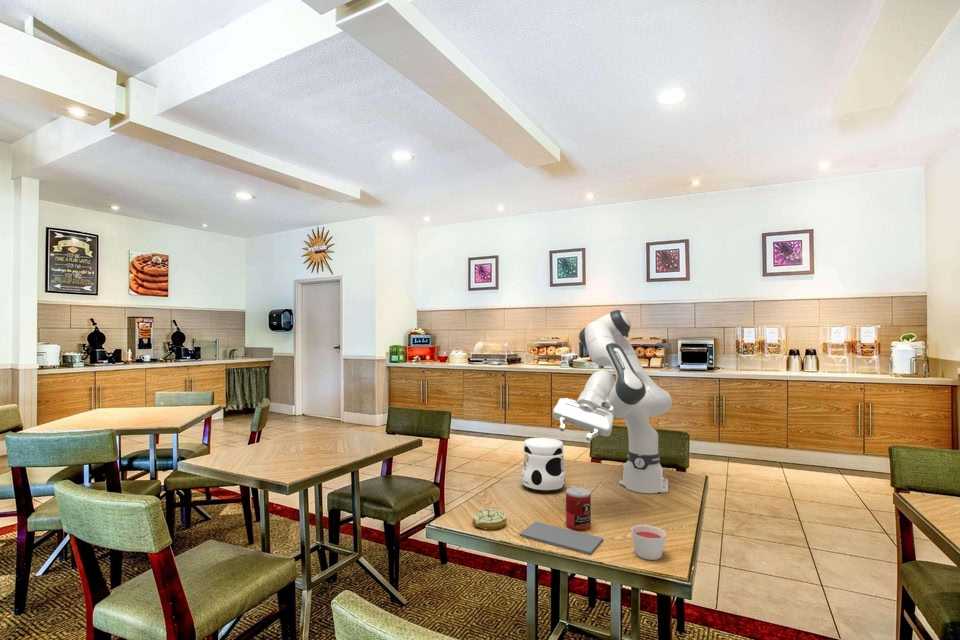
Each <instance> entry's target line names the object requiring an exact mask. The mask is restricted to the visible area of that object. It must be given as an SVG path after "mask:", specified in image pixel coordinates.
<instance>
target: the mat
mask: <svg viewBox="0 0 960 640" xmlns="http://www.w3.org/2000/svg"><path fill="white" fill-rule="evenodd" d="M519 535H520V536H523V537H522V538H524V537H526V538H525V539H528V538H530V539H529V540H531V539H533V540H532V541H535V540H537V541H536V542H539V541H540V543H543V542H544V543H543V544H546V543H547V544H548V545H551V546H555V547H558V548H561V547H562V548H563V549H566V550H569V551H573V552H576V553H580V554H585V555H588V556H591V555H592V554H594V553H595V551H596V550H597V549H598V548H599V546H600V545H601V544H602V543H603V542H604V537H602V536H597V535H592V534H589V533H585V532H582V531H576V530H572V529H570V528H569V529H568V528H564V527H560V526H555V525H551V524H548V523H543V522H539V521H534V522H533V523H532V524H530V525H528V526H527V527H526V528H525V529H523V530H522V531H521V532H519ZM519 535H518V536H519ZM520 536H519V537H520Z"/></svg>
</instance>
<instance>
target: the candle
mask: <svg viewBox="0 0 960 640" xmlns="http://www.w3.org/2000/svg"><path fill="white" fill-rule="evenodd" d="M630 530H631V537H632V542H633V547H634V552H635V555H637V556H638V557H639V558H641V559H644V560H648V561H656V560H659V559H661V558H662V555H663V551H664V546H665V541H666V534H667V532H665V531H664V530H663V529H662V528H660V527H656V526H653V525H648V524H637V525H634V526H632V527H631V529H630Z"/></svg>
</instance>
